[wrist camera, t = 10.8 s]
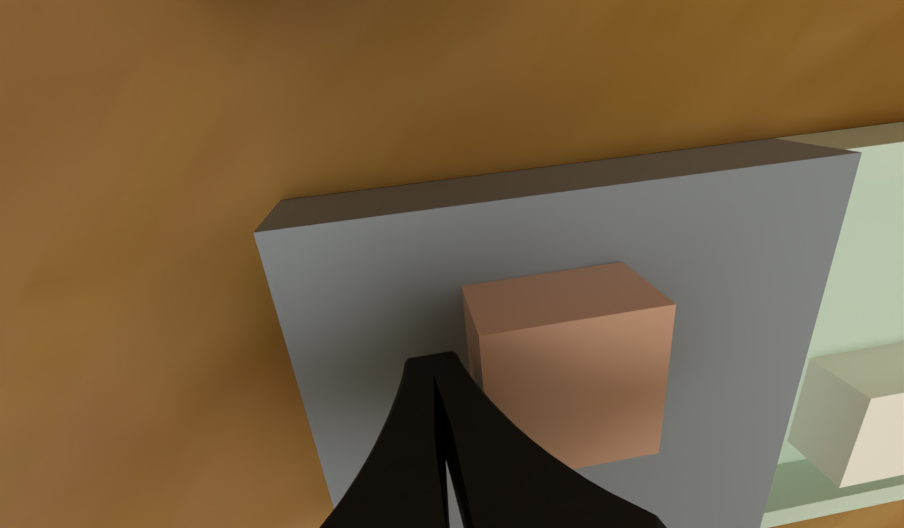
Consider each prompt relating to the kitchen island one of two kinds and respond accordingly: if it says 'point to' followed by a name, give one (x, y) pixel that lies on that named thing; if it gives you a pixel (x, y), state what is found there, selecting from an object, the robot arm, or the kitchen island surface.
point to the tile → (853, 415)
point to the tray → (852, 312)
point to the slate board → (569, 247)
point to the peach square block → (575, 359)
